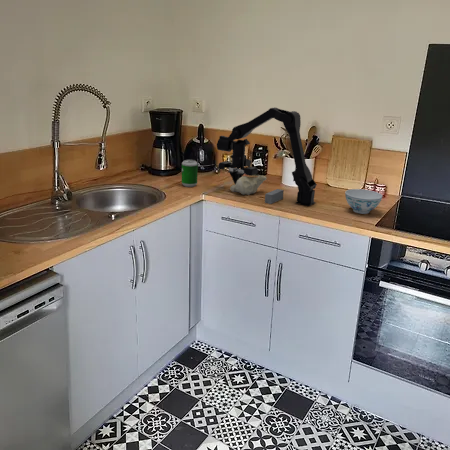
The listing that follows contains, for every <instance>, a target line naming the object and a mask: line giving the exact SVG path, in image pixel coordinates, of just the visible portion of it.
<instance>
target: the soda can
mask: <svg viewBox="0 0 450 450" xmlns="http://www.w3.org/2000/svg"><path fill="white" fill-rule="evenodd" d="M198 167H199V165H198V162H197V161H196V160H195V159H184V160H183V161H182V162H181V184H182V185H183V186H184V187H186V188H193V187H196V186H197V185H198V170H199V169H198Z"/></svg>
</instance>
